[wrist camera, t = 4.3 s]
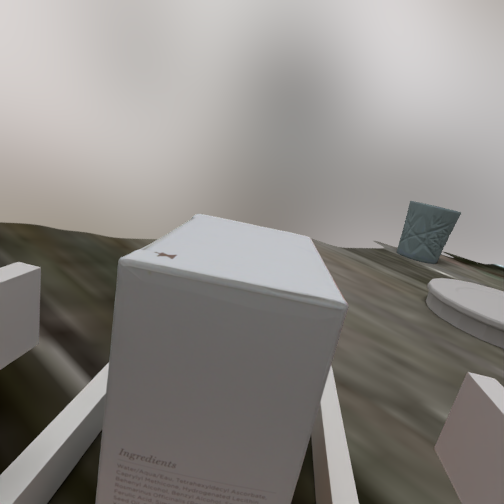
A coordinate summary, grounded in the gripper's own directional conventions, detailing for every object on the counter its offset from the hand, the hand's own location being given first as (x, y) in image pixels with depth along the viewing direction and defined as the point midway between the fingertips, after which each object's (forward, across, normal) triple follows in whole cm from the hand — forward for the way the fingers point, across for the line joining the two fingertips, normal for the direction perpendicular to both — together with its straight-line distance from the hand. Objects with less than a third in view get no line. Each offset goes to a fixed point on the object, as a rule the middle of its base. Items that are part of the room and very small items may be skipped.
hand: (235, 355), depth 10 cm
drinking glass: (+67, +32, -8) cm, 75 cm away
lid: (+33, +29, -8) cm, 45 cm away
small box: (+2, 0, -8) cm, 8 cm away
